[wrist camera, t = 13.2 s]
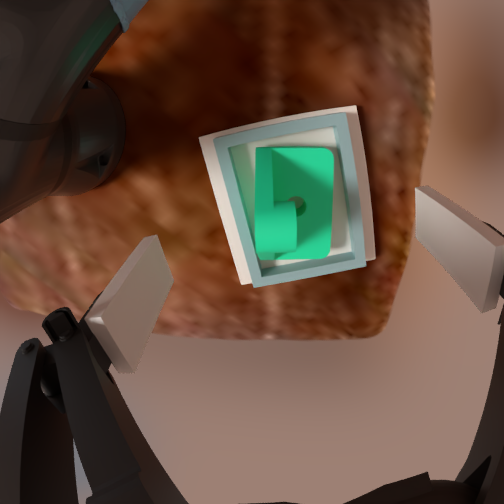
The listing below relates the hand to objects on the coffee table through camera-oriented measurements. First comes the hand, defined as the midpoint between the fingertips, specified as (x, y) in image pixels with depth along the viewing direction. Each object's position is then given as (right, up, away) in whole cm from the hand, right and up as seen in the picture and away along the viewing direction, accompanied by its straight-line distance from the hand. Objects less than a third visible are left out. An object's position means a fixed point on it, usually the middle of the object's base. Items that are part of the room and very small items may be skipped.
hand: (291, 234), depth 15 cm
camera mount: (+3, +5, +19) cm, 20 cm away
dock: (+3, +5, +20) cm, 20 cm away
